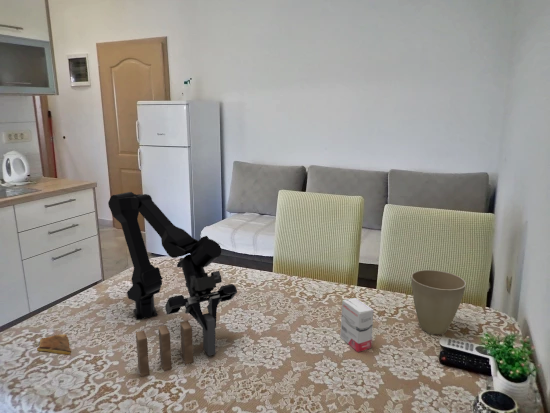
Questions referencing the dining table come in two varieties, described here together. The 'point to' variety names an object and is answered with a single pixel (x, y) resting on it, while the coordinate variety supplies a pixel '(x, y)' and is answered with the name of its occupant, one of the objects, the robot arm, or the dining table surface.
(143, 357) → the domino
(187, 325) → the domino
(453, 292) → the plant pot
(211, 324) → the dark gray rectangular block
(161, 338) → the domino
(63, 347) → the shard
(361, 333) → the ink box
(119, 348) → the dining table surface
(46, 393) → the dining table surface
